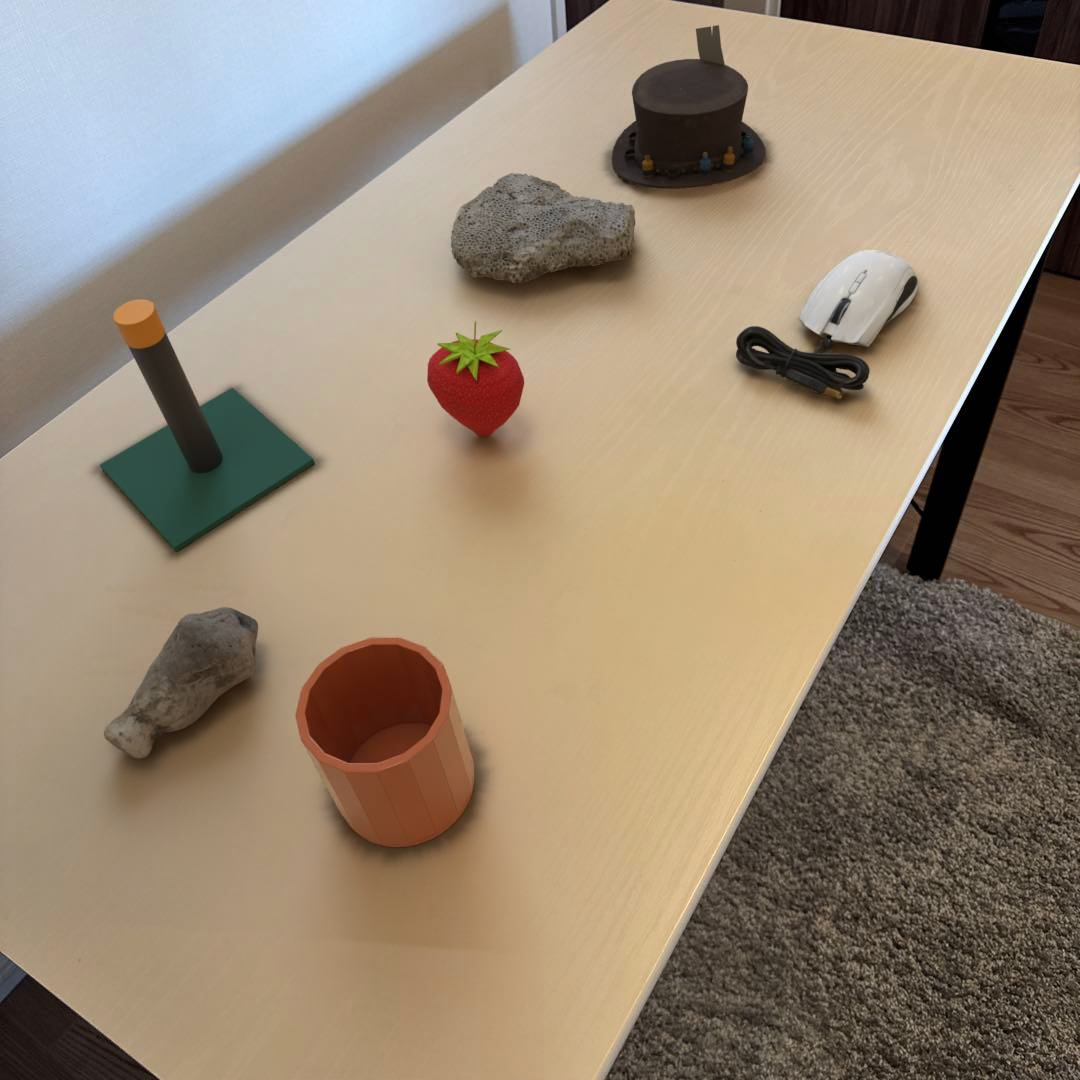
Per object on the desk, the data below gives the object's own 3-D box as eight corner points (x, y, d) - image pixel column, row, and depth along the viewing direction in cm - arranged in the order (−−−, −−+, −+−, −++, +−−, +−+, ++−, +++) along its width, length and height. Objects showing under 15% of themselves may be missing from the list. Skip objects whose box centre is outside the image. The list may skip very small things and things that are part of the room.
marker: (199, 479, 76) (124, 330, 66) (181, 461, 78) (106, 312, 67) (229, 460, 77) (161, 310, 67) (212, 443, 79) (142, 293, 68)
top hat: (785, 184, 96) (796, 74, 88) (628, 209, 95) (625, 101, 87) (741, 108, 105) (748, 3, 97) (599, 131, 105) (594, 27, 97)
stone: (136, 786, 62) (203, 745, 57) (67, 726, 60) (130, 678, 56) (226, 679, 69) (291, 635, 65) (167, 623, 68) (229, 574, 63)
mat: (176, 552, 72) (173, 547, 72) (101, 469, 79) (99, 464, 78) (315, 463, 77) (313, 458, 77) (234, 391, 83) (232, 387, 83)
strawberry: (465, 394, 81) (445, 289, 73) (546, 423, 78) (534, 317, 70) (422, 441, 78) (396, 337, 70) (505, 473, 75) (488, 368, 67)
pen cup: (392, 876, 56) (355, 803, 49) (312, 781, 60) (267, 701, 53) (502, 782, 59) (482, 700, 52) (418, 697, 63) (389, 611, 56)
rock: (630, 301, 86) (629, 250, 83) (444, 303, 88) (435, 254, 85) (638, 203, 96) (637, 153, 92) (469, 207, 98) (462, 159, 94)
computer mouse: (946, 284, 84) (957, 243, 81) (849, 415, 75) (857, 374, 72) (834, 250, 88) (840, 209, 85) (729, 370, 80) (732, 329, 77)
